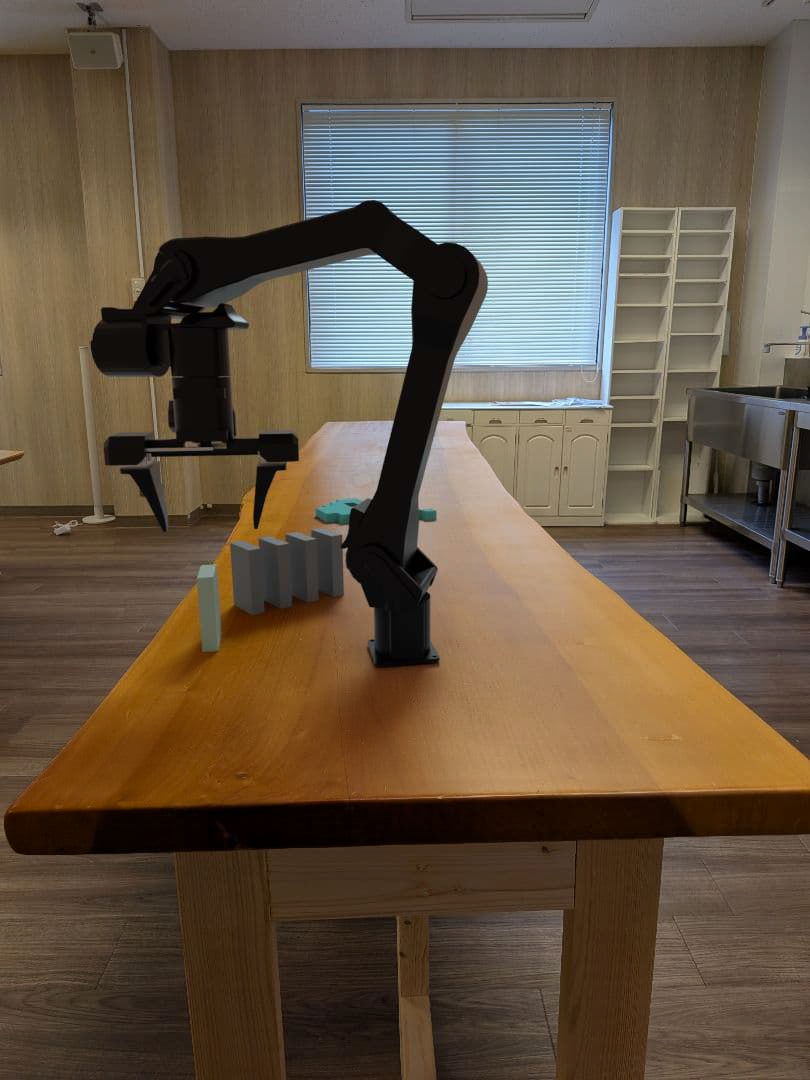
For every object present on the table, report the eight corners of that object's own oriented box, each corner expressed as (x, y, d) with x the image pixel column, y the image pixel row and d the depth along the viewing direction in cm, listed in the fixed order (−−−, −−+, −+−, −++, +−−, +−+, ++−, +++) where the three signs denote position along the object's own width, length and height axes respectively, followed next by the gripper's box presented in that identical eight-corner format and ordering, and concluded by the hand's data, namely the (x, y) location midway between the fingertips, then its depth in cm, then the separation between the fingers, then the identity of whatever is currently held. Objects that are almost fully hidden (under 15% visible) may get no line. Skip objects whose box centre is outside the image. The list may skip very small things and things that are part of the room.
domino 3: (307, 602, 91) (305, 540, 89) (288, 593, 95) (285, 533, 93) (318, 600, 92) (316, 538, 90) (298, 591, 96) (296, 532, 94)
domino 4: (333, 597, 93) (331, 536, 91) (313, 588, 97) (311, 529, 95) (343, 594, 94) (342, 534, 92) (323, 585, 98) (321, 527, 96)
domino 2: (280, 609, 89) (277, 545, 87) (261, 599, 93) (258, 538, 91) (292, 606, 90) (289, 543, 88) (272, 596, 94) (269, 536, 92)
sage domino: (221, 634, 80) (216, 564, 79) (218, 651, 76) (212, 577, 74) (206, 635, 80) (201, 565, 78) (202, 652, 75) (196, 578, 74)
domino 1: (252, 615, 86) (248, 550, 85) (233, 605, 90) (230, 542, 88) (264, 612, 87) (261, 548, 86) (245, 602, 91) (242, 540, 89)
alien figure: (394, 504, 158) (305, 513, 150) (394, 494, 158) (305, 502, 149) (436, 521, 141) (338, 532, 132) (436, 510, 140) (338, 520, 132)
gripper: (295, 375, 82) (300, 512, 85) (121, 376, 79) (134, 517, 83) (296, 377, 71) (301, 533, 75) (95, 378, 68) (111, 540, 72)
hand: (211, 529), depth 76 cm, fingers open, 9 cm apart
